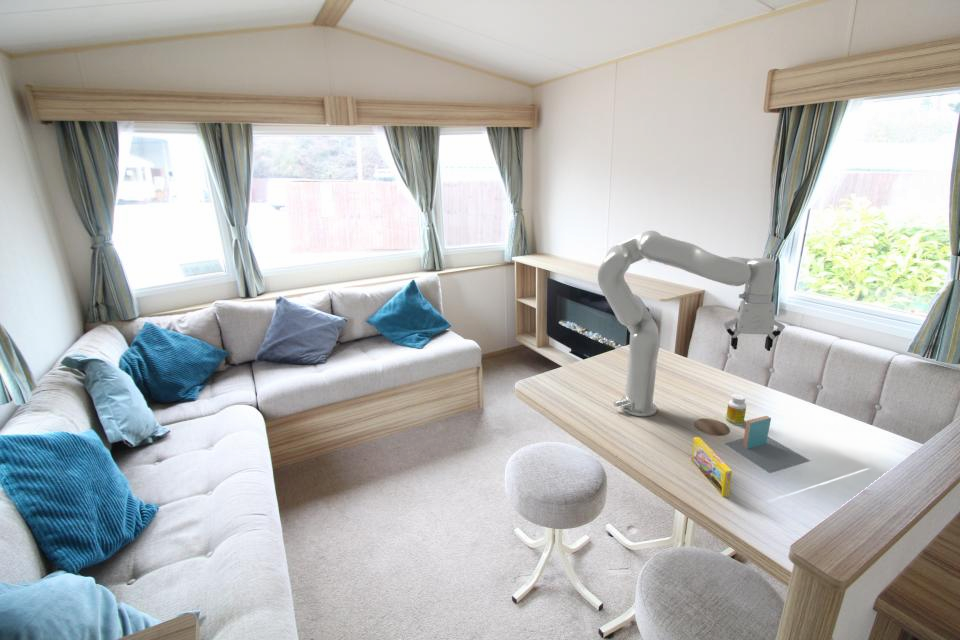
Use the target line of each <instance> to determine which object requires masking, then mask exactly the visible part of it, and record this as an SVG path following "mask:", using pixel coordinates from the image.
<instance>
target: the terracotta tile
mask: <svg viewBox="0 0 960 640" xmlns="http://www.w3.org/2000/svg"><path fill="white" fill-rule="evenodd" d="M771 420H772V418H771V417H770V416H768V415H764V416H759V417H754V418H752V419H748V420H746V424H745V430H744V435H743V438H744V440H743V445H742V446H743V447H745V448H746V449H748V448H752V447H755V446H759V445H763V444H766V442H767V437H769V431H770V426H771Z"/></svg>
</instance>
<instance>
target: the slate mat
mask: <svg viewBox="0 0 960 640" xmlns="http://www.w3.org/2000/svg"><path fill="white" fill-rule="evenodd" d="M743 440H744V437H742V438H739V439H736V440H731V441H728V442H723V444H724V445H725V446H728V447H729V448H730V449H732V450H733V451H735V452H736V453H738V454H740V455H741V456H743V457H744V458H746V459H747V460H749V461H751V462H752V463H753V464H754V465H757V466H758V467H760V468H761V469H762V470H765V471H766V472H767V473H769V474H771V473H775V472H778V471H781V470H784V469H788V468H792V467H795V466H797V465H801V464H804V463H808V462H811V460H810V459H809V458H807V457H804V456H803V455H801V454H800V453H798V452H796V451H794V450H792V449H791V448H789V447H787V446H785V445H784V444H782V443H781V442H778V441H777V440H775V439H773V438H771V437H769V436H768V437H767V442H766V444H763V445H759V446H755V447H752V448H748V449H746V448H745V447H743V446H742V445H743Z"/></svg>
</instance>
